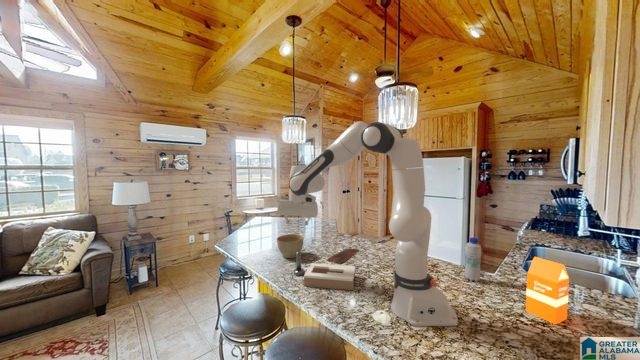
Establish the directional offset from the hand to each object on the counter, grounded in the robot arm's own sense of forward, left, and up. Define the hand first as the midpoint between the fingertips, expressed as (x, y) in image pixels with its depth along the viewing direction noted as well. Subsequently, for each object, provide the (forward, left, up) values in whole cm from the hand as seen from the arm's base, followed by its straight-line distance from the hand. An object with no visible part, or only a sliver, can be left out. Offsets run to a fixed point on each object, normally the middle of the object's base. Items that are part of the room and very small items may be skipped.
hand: (297, 224), depth 126 cm
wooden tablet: (-21, -28, -26) cm, 43 cm away
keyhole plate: (-18, +6, -25) cm, 31 cm away
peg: (-1, +1, -25) cm, 25 cm away
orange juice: (-98, +18, -25) cm, 102 cm away
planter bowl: (+11, -22, -25) cm, 35 cm away
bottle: (-83, -7, -25) cm, 87 cm away
